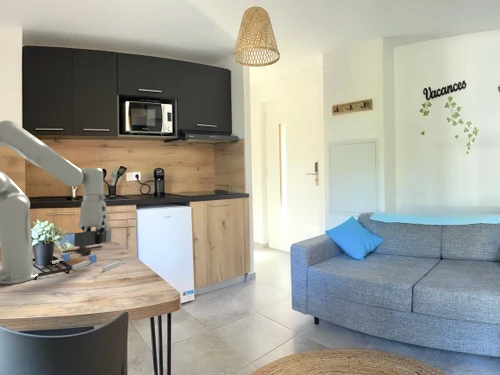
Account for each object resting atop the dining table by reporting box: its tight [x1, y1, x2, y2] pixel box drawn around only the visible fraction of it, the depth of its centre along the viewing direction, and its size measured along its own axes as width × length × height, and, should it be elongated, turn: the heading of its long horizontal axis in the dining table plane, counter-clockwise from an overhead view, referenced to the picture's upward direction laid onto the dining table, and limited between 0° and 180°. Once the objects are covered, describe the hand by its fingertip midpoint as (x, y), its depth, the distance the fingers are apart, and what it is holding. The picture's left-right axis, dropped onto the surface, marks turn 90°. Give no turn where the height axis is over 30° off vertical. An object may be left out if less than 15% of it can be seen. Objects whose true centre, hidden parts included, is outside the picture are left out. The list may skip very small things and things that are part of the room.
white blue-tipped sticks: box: [51, 252, 122, 272], centre depth 144 cm, size 12×29×3 cm, turn 75°
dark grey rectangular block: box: [73, 228, 112, 248], centre depth 140 cm, size 16×5×5 cm, turn 165°
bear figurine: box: [62, 244, 104, 257], centre depth 168 cm, size 18×4×14 cm
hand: (93, 242), depth 140 cm, fingers closed on dark grey rectangular block, 4 cm apart
